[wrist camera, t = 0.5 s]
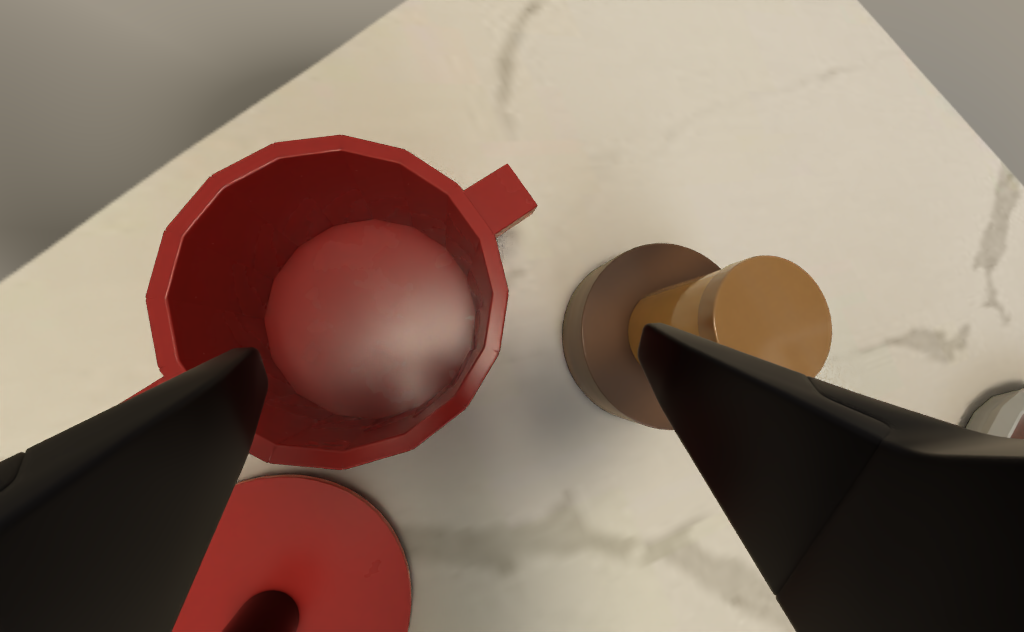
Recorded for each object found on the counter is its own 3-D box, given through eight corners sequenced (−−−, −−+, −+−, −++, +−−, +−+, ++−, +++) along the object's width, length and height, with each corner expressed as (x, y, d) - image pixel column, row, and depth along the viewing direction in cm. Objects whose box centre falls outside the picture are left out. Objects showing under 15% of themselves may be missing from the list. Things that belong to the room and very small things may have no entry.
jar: (729, 344, 23) (856, 337, 16) (664, 402, 22) (770, 422, 15) (676, 269, 23) (779, 229, 16) (607, 323, 22) (687, 306, 15)
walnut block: (740, 354, 27) (783, 353, 24) (628, 455, 25) (658, 471, 21) (650, 228, 27) (681, 209, 24) (529, 318, 25) (543, 311, 21)
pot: (557, 316, 25) (612, 296, 17) (301, 508, 21) (216, 601, 13) (439, 153, 25) (439, 55, 17) (159, 317, 21) (-17, 292, 13)
